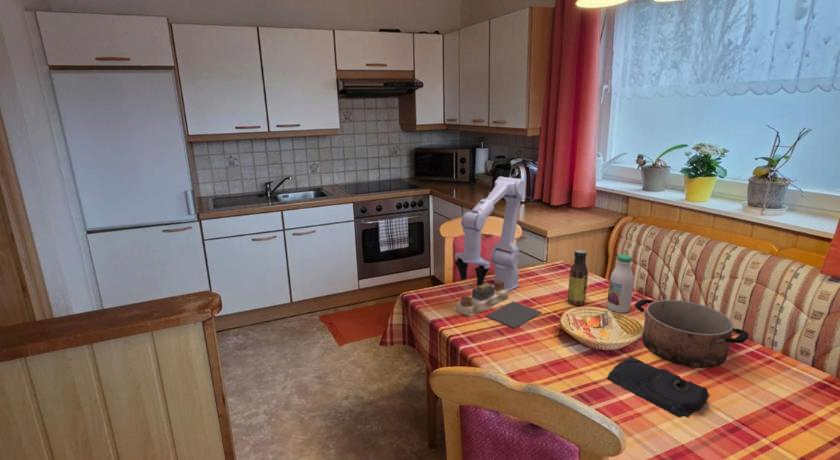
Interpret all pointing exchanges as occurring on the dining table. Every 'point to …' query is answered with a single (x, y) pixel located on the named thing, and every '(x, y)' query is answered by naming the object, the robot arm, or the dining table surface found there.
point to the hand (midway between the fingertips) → (471, 282)
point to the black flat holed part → (659, 387)
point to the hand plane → (475, 306)
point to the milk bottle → (621, 285)
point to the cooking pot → (688, 332)
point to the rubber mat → (513, 314)
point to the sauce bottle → (578, 279)
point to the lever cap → (483, 291)
